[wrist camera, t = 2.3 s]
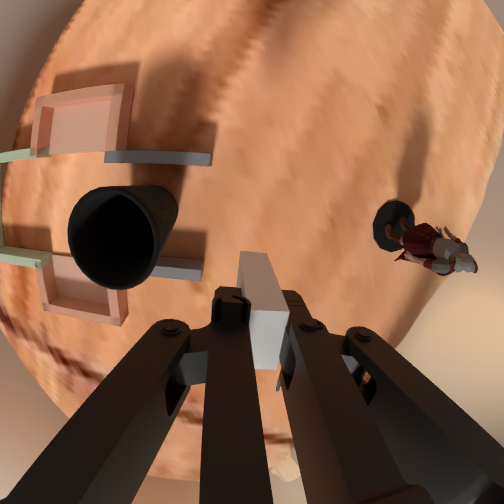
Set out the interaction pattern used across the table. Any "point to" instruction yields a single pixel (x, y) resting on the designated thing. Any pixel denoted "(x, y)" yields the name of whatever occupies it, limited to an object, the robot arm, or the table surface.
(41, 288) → the track
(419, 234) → the figurine
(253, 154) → the table surface
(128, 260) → the cup
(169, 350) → the robot arm
